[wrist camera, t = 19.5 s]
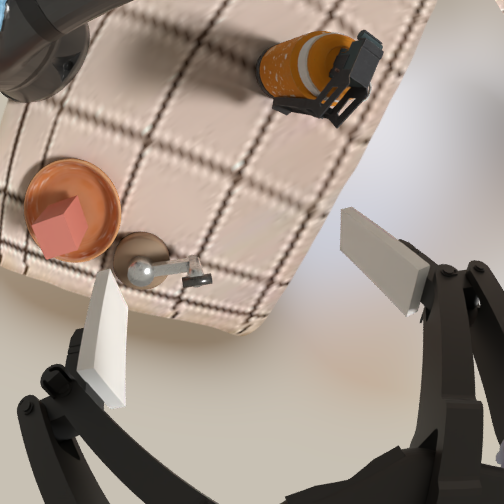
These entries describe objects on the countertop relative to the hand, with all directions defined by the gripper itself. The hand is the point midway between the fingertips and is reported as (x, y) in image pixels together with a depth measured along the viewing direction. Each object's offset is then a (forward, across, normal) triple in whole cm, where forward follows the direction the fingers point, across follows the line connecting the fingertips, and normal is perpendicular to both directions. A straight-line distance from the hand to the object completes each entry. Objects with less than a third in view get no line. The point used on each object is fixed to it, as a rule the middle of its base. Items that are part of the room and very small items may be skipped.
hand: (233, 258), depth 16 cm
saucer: (+29, -19, -3) cm, 35 cm away
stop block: (+26, -19, -3) cm, 33 cm away
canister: (+29, +15, +9) cm, 34 cm away
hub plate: (+29, -11, -14) cm, 34 cm away
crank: (+26, -7, -15) cm, 31 cm away
